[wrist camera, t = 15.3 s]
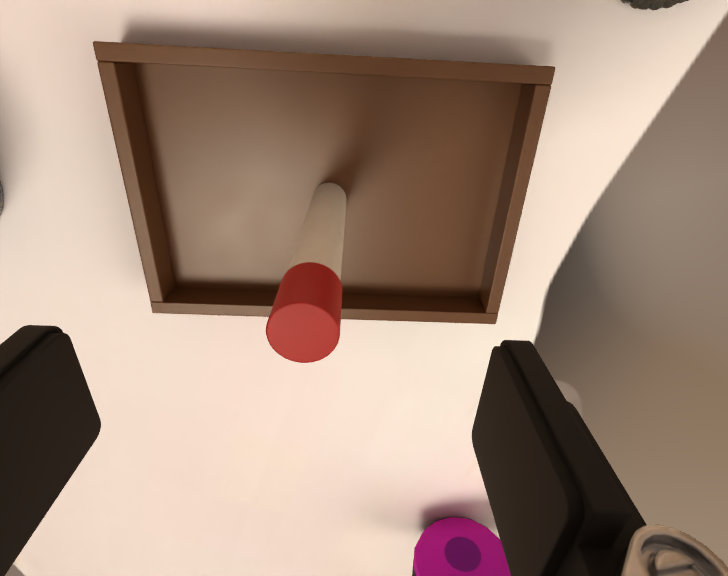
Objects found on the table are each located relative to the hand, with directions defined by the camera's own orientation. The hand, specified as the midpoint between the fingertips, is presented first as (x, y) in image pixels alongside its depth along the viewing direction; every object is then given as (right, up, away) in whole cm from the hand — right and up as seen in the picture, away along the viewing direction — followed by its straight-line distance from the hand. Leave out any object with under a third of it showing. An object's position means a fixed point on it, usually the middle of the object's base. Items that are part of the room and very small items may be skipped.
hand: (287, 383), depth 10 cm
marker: (0, +7, +15) cm, 17 cm away
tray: (0, +8, +16) cm, 18 cm away
